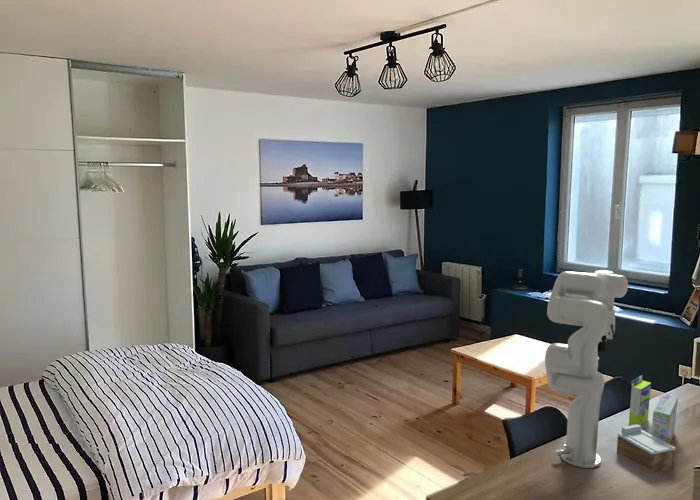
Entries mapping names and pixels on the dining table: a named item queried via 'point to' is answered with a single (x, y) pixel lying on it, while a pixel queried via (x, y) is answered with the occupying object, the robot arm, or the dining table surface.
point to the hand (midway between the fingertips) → (599, 350)
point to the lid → (644, 440)
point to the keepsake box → (645, 457)
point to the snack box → (665, 418)
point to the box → (639, 401)
